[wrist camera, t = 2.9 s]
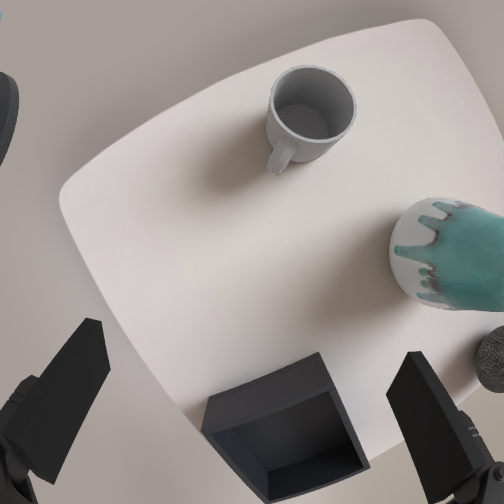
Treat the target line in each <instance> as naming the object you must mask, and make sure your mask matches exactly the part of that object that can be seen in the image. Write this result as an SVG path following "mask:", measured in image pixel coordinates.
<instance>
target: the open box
mask: <svg viewBox="0 0 504 504" xmlns="http://www.w3.org/2000/svg"><path fill="white" fill-rule="evenodd" d="M201 432H202V433H203V435H204V436H205V437H206V439H207V440H208V441H209V442H210V444H211V445H212V446H213V447H214V449H215V450H216V451H217V452H218V453H219V455H220V456H221V457H222V458H223V459H224V460H225V462H226V463H227V464H228V465H229V466H230V467H231V468H232V470H233V471H234V472H235V473H236V474H237V475H238V476H239V477H240V478H241V479H242V481H243V482H244V483H245V484H246V485H247V486H248V487H249V488H250V489H251V490H252V491H253V492H254V493H255V494H256V495H257V496H258V497H259V498H260V499H261V500H262V501H263V502H264V503H265V504H271V503H275V502H279V501H283V500H286V499H290V498H293V497H296V496H300V495H303V494H306V493H309V492H312V491H315V490H318V489H321V488H324V487H326V486H329V485H332V484H334V483H337V482H339V481H342V480H344V479H347V478H349V477H351V476H354V475H356V474H359V473H361V472H363V471H365V470H367V469H369V468H370V465H369V462H368V460H367V458H366V455H365V453H364V451H363V449H362V446H361V444H360V442H359V439H358V437H357V435H356V432H355V430H354V428H353V426H352V423H351V421H350V419H349V416H348V414H347V412H346V410H345V407H344V405H343V403H342V401H341V398H340V396H339V394H338V392H337V390H336V387H335V385H334V383H333V381H332V379H331V376H330V374H329V372H328V370H327V368H326V366H325V364H324V362H323V360H322V358H321V355H320V353H319V352H318V353H316V354H314V355H311V356H309V357H307V358H305V359H303V360H301V361H298V362H296V363H294V364H292V365H289V366H287V367H285V368H282V369H280V370H278V371H275V372H273V373H271V374H268V375H266V376H263V377H261V378H258V379H256V380H253V381H251V382H248V383H246V384H243V385H240V386H238V387H235V388H232V389H230V390H227V391H224V392H221V393H219V394H216V395H213V396H210V397H209V399H208V403H207V407H206V411H205V415H204V419H203V424H202V428H201Z"/></svg>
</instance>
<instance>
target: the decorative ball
mask: <svg viewBox="0 0 504 504" xmlns="http://www.w3.org/2000/svg"><path fill="white" fill-rule="evenodd" d="M476 373H477V376H478V379H479V381H480V383H481V384H482V385H483V386H484V387H485V388H486V389H488V390H489V391H492V392H495V393H504V326H501V327H498V328H496V329H495V330H493V331H492V332H491V333H489V334H488V335H487V336H486V338H485V339H484V340H483V342H482V343H481V345H480V347H479V350H478V352H477V356H476Z"/></svg>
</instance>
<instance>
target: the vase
mask: <svg viewBox="0 0 504 504" xmlns="http://www.w3.org/2000/svg"><path fill="white" fill-rule="evenodd" d="M389 259H390V265H391V269H392V272H393V275H394V277H395V279H396V281H397V283H398V284H399V286H400V287H401V288H402V289H403V291H404V292H405V293H406V294H407V295H408V296H410V297H411V298H412V299H414V300H415V301H417V302H419V303H421V304H423V305H426V306H430V307H433V308H438V309H444V310H477V311H488V312H503V311H504V217H503V216H500V215H497V214H495V213H492V212H489V211H487V210H485V209H483V208H481V207H478V206H475V205H472V204H469V203H466V202H463V201H460V200H457V199H454V198H449V197H431V198H427V199H424V200H421V201H419V202H417V203H415V204H414V205H412V206H411V207H409V208H408V209H407V210H406V211H405V212H404V213H403V214H402V215H401V217H400V218H399V220H398V221H397V223H396V225H395V227H394V229H393V232H392V235H391V239H390V245H389Z"/></svg>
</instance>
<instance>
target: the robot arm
mask: <svg viewBox="0 0 504 504" xmlns="http://www.w3.org/2000/svg"><path fill="white" fill-rule="evenodd" d="M0 19H1V11H0ZM110 370H111V369H110V364H109V360H108V355H107V350H106V345H105V339H104V334H103V328H102V322H101V321H98V320H94V319H90V318H85V320H84V321H83V322H82V323H81V325H80V326H79V327H78V328H77V329H76V331H75V332H74V333H73V334H72V336H71V337H70V338H69V339H68V341H67V342H66V343H65V344H64V346H63V347H62V348H61V350H60V351H59V352H58V353H57V355H56V356H55V357H54V358H53V360H52V361H51V363H50V364H49V365H48V366H47V368H46V369H45V370H44V372H43V373H42V374H41V376H40V377H39V378H38V377H35V376H33V375H31V376H29V377H27V378H26V379H24V380H23V381H22V382H21V383H20V384H19V385H18V387H17V388H16V389H15V392H14V393H13V394H12V395H11V396H10V398H9V400H8V401H7V402H6V403H5V405H4V406H3V407H2V409H1V410H0V504H38V502H37V499H36V496H35V493H34V490H33V487H32V484H31V481H30V478H29V476H28V472H29V470H31V471H32V472H33V473H34V474H35V475H36V476H37V477H39V478H41V479H43V480H45V481H47V482H49V483H51V484H53V485H54V483H55V481H56V479H57V476H58V474H59V472H60V469H61V467H62V465H63V463H64V461H65V458H66V456H67V454H68V452H69V450H70V448H71V446H72V444H73V442H74V439H75V437H76V435H77V433H78V431H79V429H80V427H81V425H82V423H83V421H84V419H85V417H86V415H87V413H88V411H89V409H90V407H91V405H92V403H93V402H94V399H95V398H96V396H97V394H98V392H99V390H100V388H101V386H102V384H103V383H104V381H105V379H106V377H107V375H108V373H109V371H110ZM386 396H387V398H388V401H389V403H390V405H391V408H392V410H393V412H394V415H395V417H396V420H397V422H398V424H399V427H400V429H401V432H402V434H403V437H404V439H405V442H406V444H407V447H408V449H409V452H410V454H411V457H412V460H413V462H414V465H415V467H416V470H417V473H418V476H419V478H420V481H421V484H422V486H423V489H424V492H425V495H426V498H427V501H428V504H435V503H438V502H440V501H443V500H445V499H446V498H447V497H448V496H450V495H451V494H452V493H453V494H454V498H452V499H451V500H450V501H449V502H447V503H446V504H504V463H503V462H499V461H498V462H495V461H494V460H493V458H492V456H491V454H490V452H489V450H488V449H487V447H486V445H485V443H484V441H483V439H482V438H481V436H479V432H478V431H477V429H475V425H474V424H473V422H472V420H471V418H470V417H468V415H467V414H465V413H464V412H463V411H462V410H461V411H458V409H457V407H456V406H455V404H454V402H453V401H452V399H451V397H450V396H449V394H448V392H447V391H446V389H445V388H444V386H443V384H442V383H441V381H440V380H439V378H438V376H437V375H436V373H435V372H434V370H433V369H432V367H431V366H430V364H429V363H428V361H427V360H426V358H425V357H424V355H423V354H422V352H421V351H416V352H408V353H407V355H406V357H405V359H404V361H403V363H402V365H401V367H400V369H399V371H398V373H397V375H396V377H395V378H394V380H393V382H392V384H391V386H390V388H389V390H388V391H387V393H386Z"/></svg>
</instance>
